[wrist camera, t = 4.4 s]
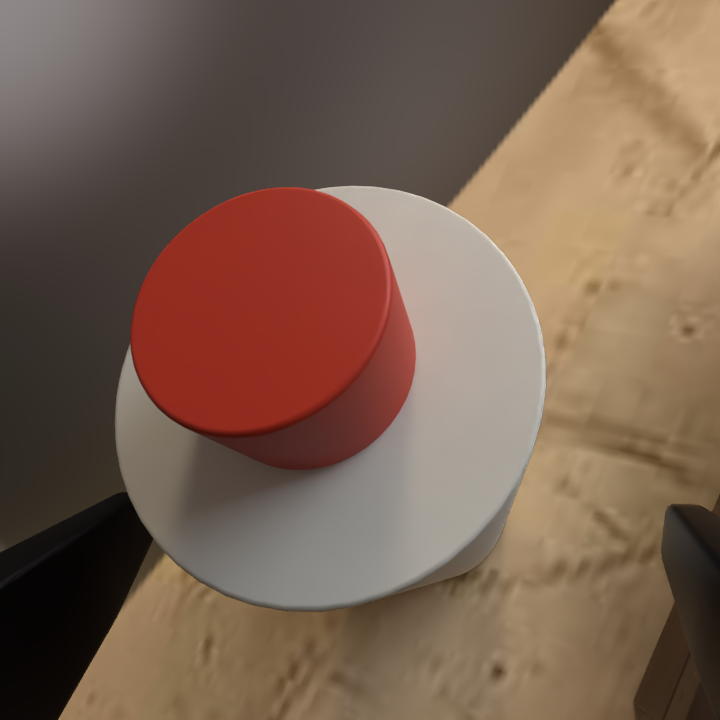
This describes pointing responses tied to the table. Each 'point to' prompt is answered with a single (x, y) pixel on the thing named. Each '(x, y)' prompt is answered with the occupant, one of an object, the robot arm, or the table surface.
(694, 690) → the step shelf
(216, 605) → the table surface
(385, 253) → the glue bottle
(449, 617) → the table surface
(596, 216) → the table surface
